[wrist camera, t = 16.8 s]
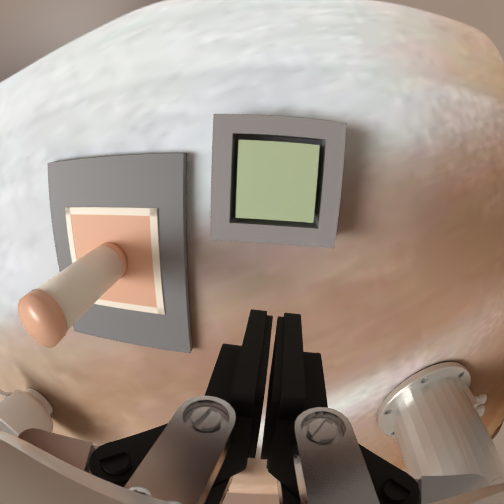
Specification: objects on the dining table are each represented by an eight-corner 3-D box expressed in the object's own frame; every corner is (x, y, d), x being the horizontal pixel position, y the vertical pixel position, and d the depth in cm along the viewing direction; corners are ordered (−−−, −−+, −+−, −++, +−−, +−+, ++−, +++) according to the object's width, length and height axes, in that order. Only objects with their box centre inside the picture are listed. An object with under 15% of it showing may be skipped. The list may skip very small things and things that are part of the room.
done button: (314, 145, 18) (319, 145, 16) (309, 215, 20) (313, 222, 18) (241, 140, 18) (238, 139, 16) (239, 211, 20) (235, 217, 18)
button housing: (336, 126, 19) (346, 123, 16) (326, 234, 21) (334, 248, 19) (222, 118, 19) (213, 114, 16) (218, 227, 22) (210, 239, 19)
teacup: (19, 353, 30) (-19, 393, 20) (80, 424, 34) (55, 469, 25) (-4, 363, 32) (-35, 396, 23) (48, 424, 36) (25, 460, 27)
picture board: (186, 152, 20) (182, 153, 19) (192, 347, 26) (190, 354, 25) (53, 162, 21) (46, 163, 20) (78, 327, 26) (74, 331, 26)
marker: (127, 241, 22) (49, 301, 12) (131, 281, 23) (65, 353, 13) (93, 239, 22) (12, 292, 12) (98, 276, 23) (28, 340, 14)
